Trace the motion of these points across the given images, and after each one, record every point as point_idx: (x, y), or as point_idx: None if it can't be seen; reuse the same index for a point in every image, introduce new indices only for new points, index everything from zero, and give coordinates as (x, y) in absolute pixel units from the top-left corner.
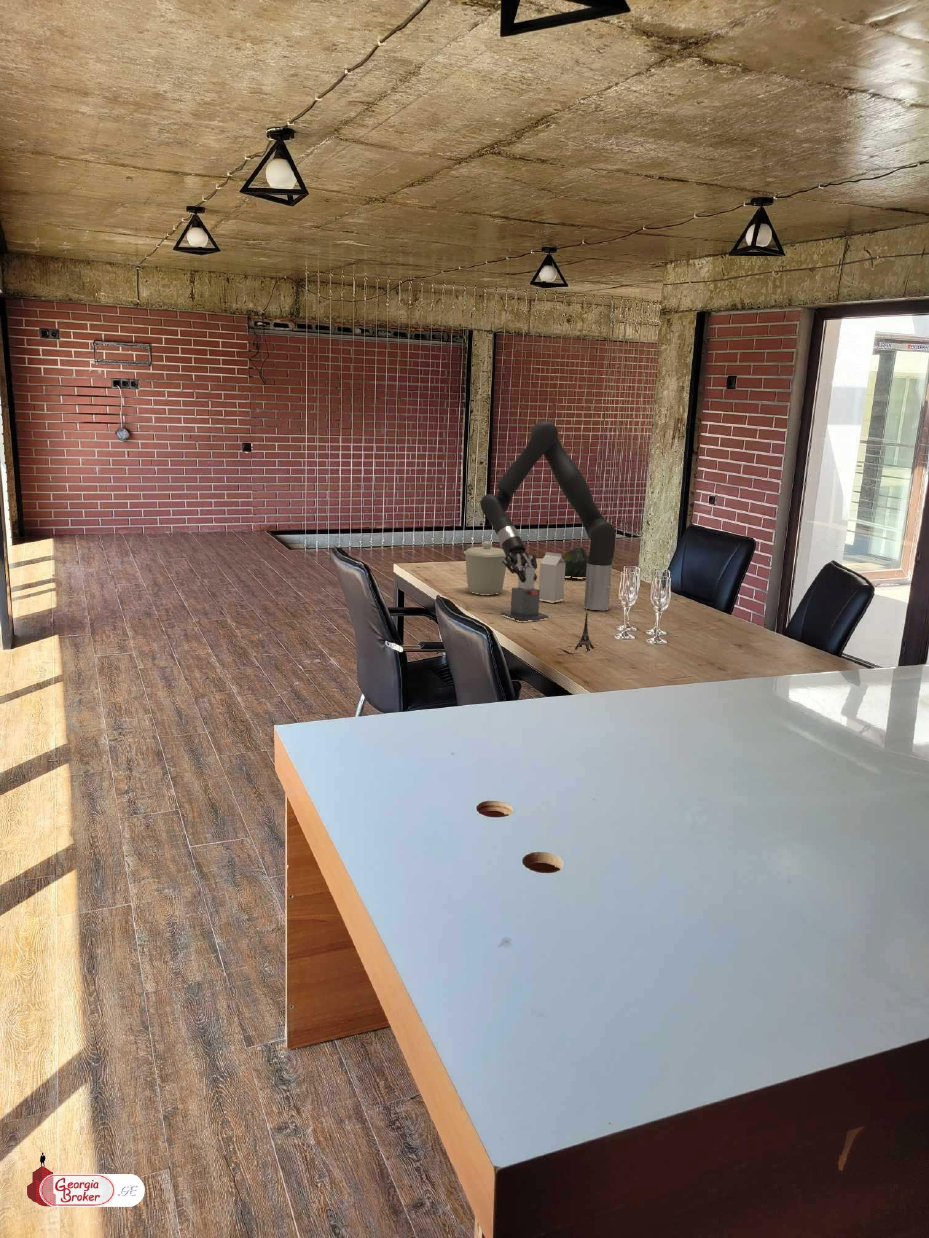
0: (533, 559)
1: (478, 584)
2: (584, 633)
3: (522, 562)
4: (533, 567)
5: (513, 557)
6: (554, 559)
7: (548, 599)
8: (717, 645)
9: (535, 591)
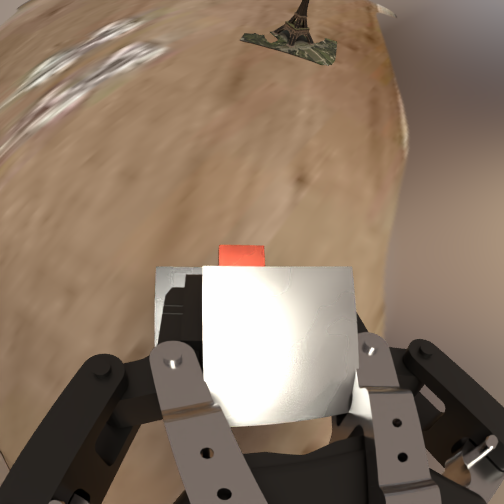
0: (61, 477)
1: None
2: (304, 14)
3: (315, 452)
4: (203, 298)
5: (456, 492)
6: None
7: (4, 474)
8: (72, 11)
9: (224, 258)
